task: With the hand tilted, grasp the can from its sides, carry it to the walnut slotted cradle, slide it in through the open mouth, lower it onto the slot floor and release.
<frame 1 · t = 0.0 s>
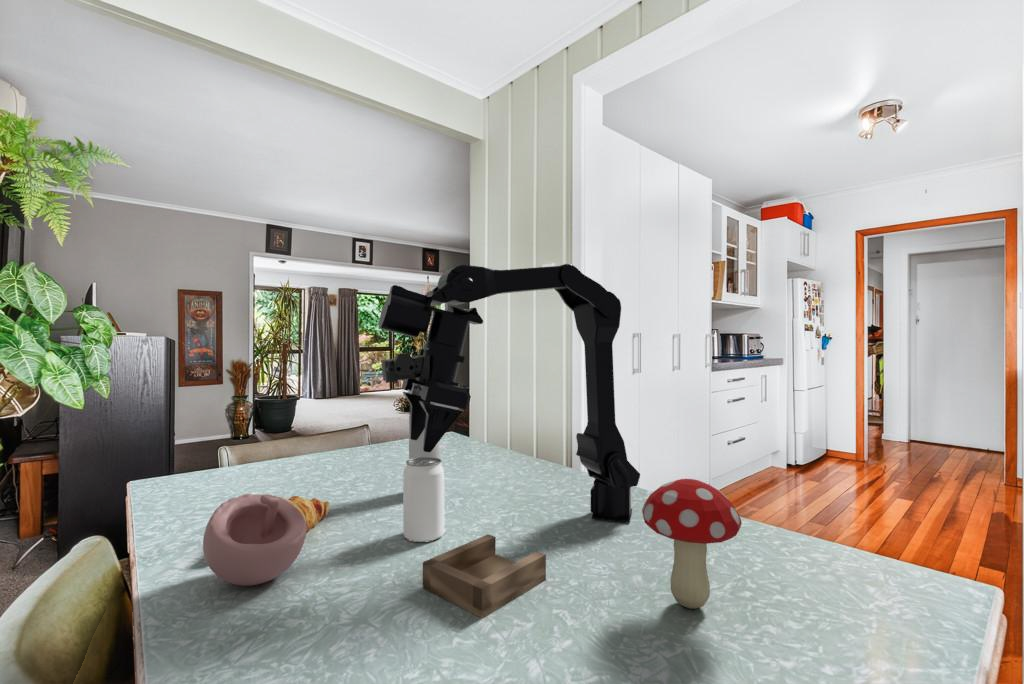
hand: (419, 445, 76), 15 cm above the table, tool pointing down, fingers open, 9 cm apart
decorative mushroom: (689, 608, 59), on the table
cradle: (485, 583, 65), on the table
travel mug: (425, 494, 103), on the table
mortar and pestle: (256, 581, 66), on the table
croissant: (280, 538, 81), on the table
can: (424, 536, 81), on the table
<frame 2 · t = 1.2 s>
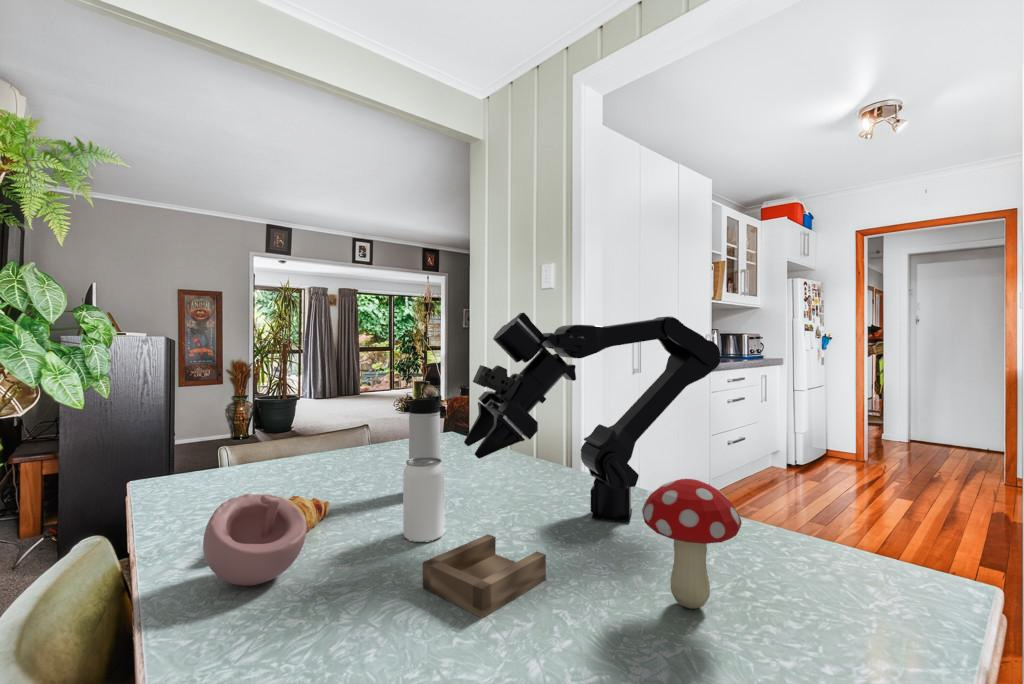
hand: (470, 450, 83), 13 cm above the table, tool tilted 45°, fingers open, 9 cm apart
nothing on the table moved.
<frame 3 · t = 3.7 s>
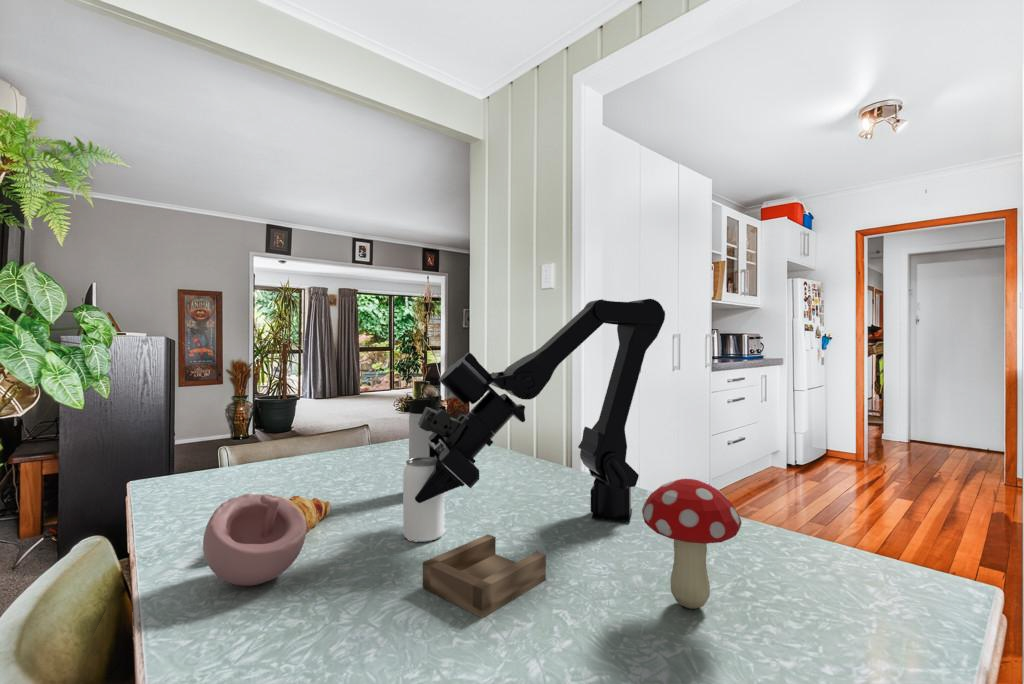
hand: (415, 495, 80), 7 cm above the table, tool tilted 45°, fingers closed on can, 6 cm apart
can: (424, 536, 81), on the table, touching gripper
everything else where it was.
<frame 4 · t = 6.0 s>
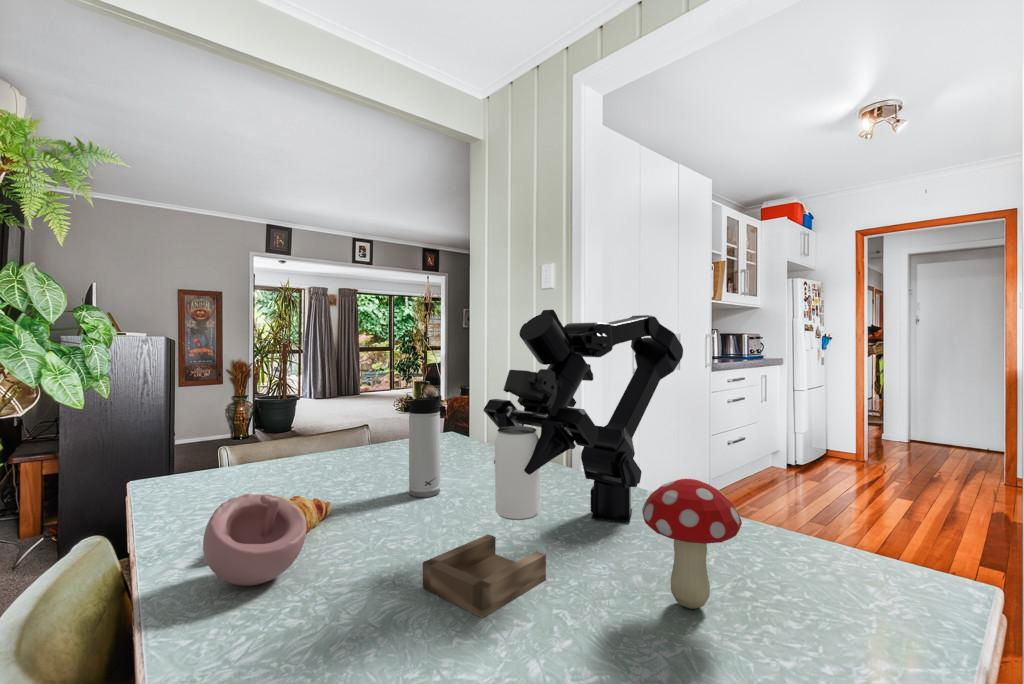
hand: (511, 469, 71), 13 cm above the table, tool tilted 45°, fingers closed on can, 6 cm apart
can: (518, 514, 72), point 6 cm above the table, touching gripper
everything else where it was.
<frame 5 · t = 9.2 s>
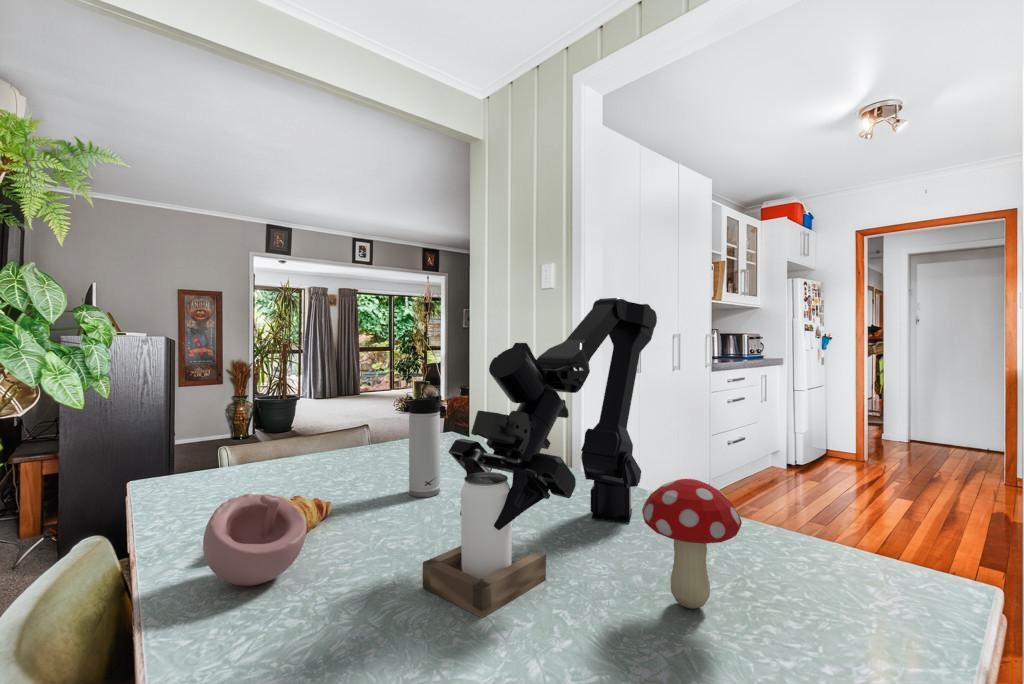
hand: (478, 522, 64), 8 cm above the table, tool tilted 45°, fingers closed on can, 6 cm apart
can: (486, 571, 65), point 1 cm above the table, touching gripper
everything else where it was.
when the fingers open (8 cm above the table, at t = 9.3 s): can stays where it is, resting on cradle.
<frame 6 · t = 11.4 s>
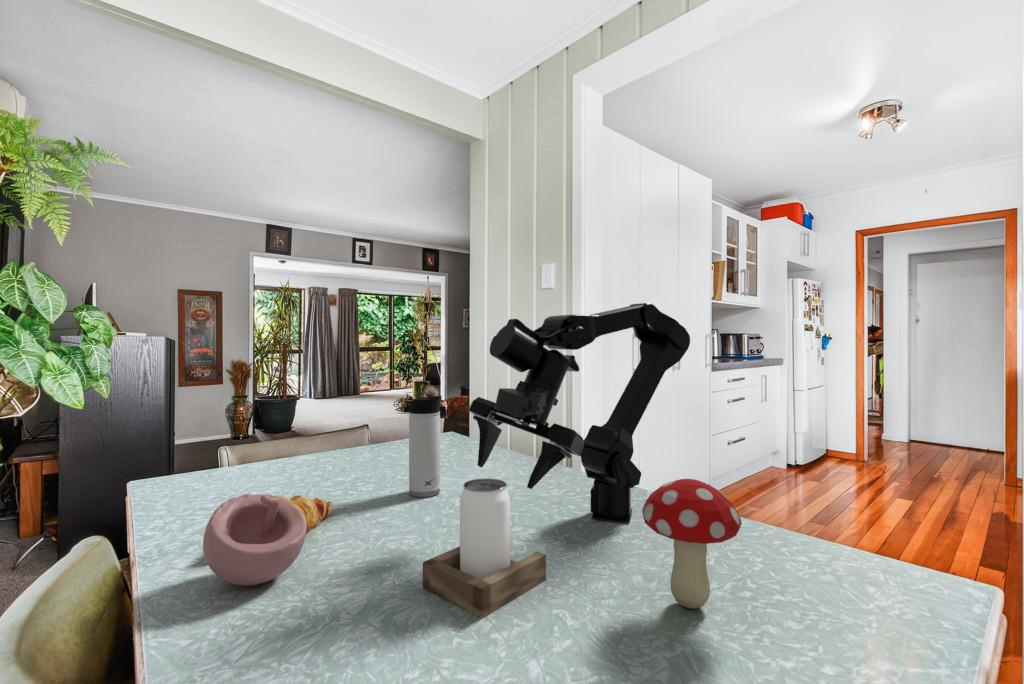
hand: (503, 477, 77), 10 cm above the table, tool tilted 30°, fingers open, 9 cm apart
can: (485, 578, 65), point 1 cm above the table, touching cradle
everything else where it was.
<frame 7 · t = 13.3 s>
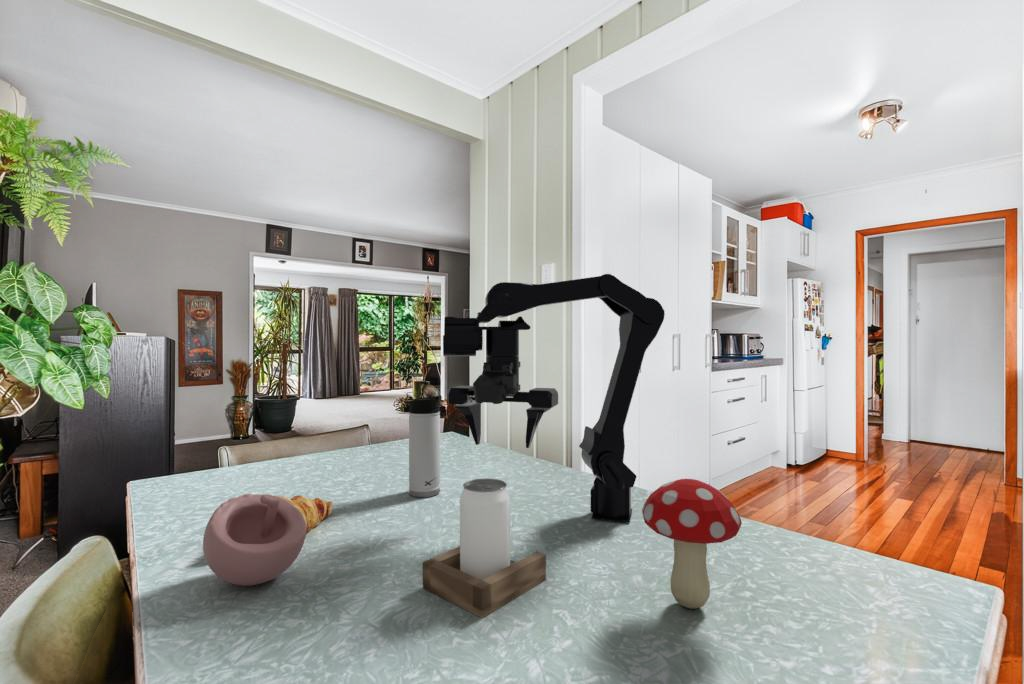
hand: (502, 445, 87), 13 cm above the table, tool pointing down, fingers open, 9 cm apart
nothing on the table moved.
at the end: can inside the target area on the cradle (0.2 cm from its centre), point 0.6 cm above the cradle's base; can tilted 0°; the gripper is holding nothing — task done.
